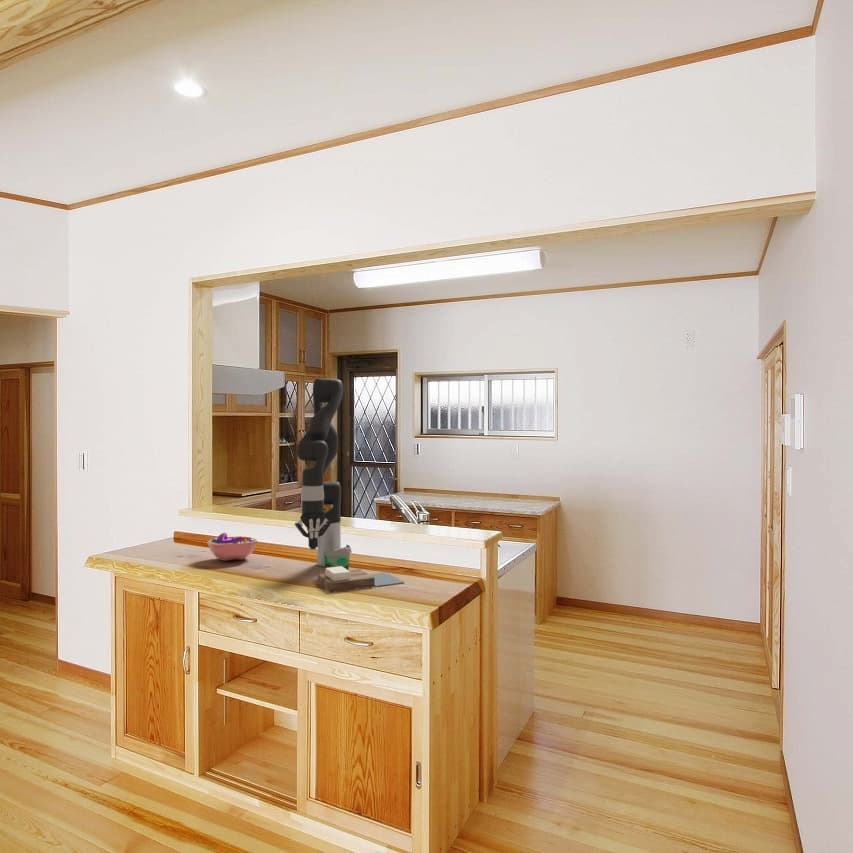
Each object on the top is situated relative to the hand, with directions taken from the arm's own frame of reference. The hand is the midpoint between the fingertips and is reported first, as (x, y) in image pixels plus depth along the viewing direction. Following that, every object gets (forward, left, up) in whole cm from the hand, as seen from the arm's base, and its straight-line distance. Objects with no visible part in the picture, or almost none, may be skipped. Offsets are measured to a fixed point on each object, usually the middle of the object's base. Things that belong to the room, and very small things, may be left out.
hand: (313, 548), depth 215 cm
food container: (-14, +15, -14) cm, 25 cm away
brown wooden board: (0, +12, -14) cm, 18 cm away
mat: (0, +25, -14) cm, 29 cm away
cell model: (-57, -17, -14) cm, 61 cm away
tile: (0, +9, -10) cm, 13 cm away
